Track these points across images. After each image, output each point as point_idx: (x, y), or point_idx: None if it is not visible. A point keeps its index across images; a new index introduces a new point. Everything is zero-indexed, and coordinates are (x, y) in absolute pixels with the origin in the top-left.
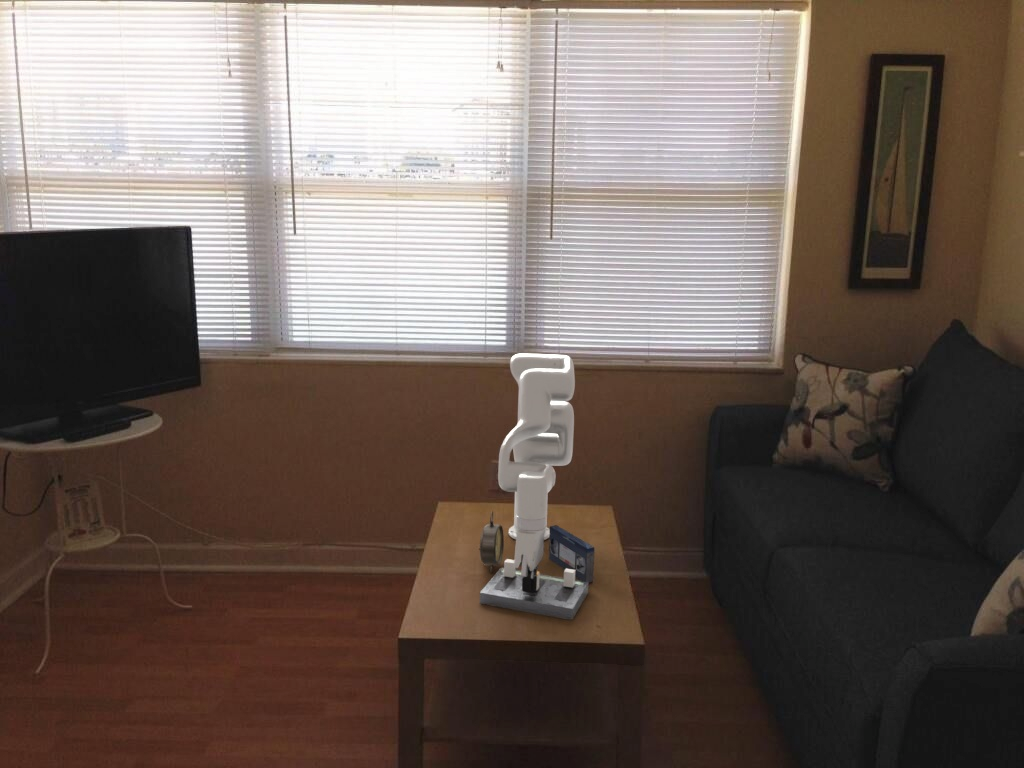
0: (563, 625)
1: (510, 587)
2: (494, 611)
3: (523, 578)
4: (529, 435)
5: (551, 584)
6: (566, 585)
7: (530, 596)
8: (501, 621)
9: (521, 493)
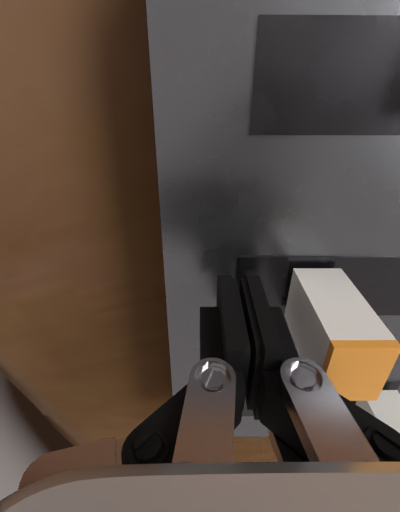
0: (131, 383)
1: (314, 154)
2: (101, 104)
3: (223, 344)
4: None
5: None
6: (359, 404)
7: None
8: (21, 183)
9: None
